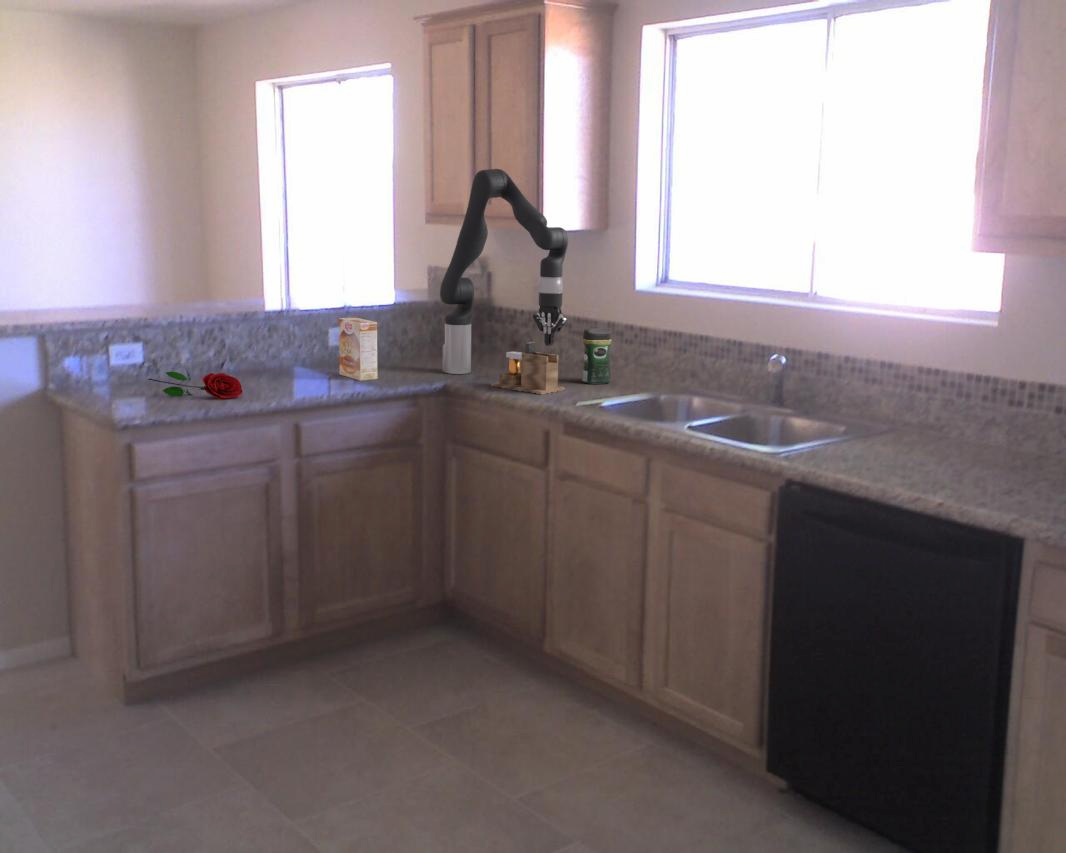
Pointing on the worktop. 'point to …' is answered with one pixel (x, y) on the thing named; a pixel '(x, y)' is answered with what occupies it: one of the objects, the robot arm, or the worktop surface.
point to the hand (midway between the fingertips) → (549, 345)
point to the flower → (208, 385)
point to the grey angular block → (529, 349)
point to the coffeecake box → (358, 348)
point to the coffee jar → (596, 356)
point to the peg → (514, 366)
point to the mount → (534, 375)
